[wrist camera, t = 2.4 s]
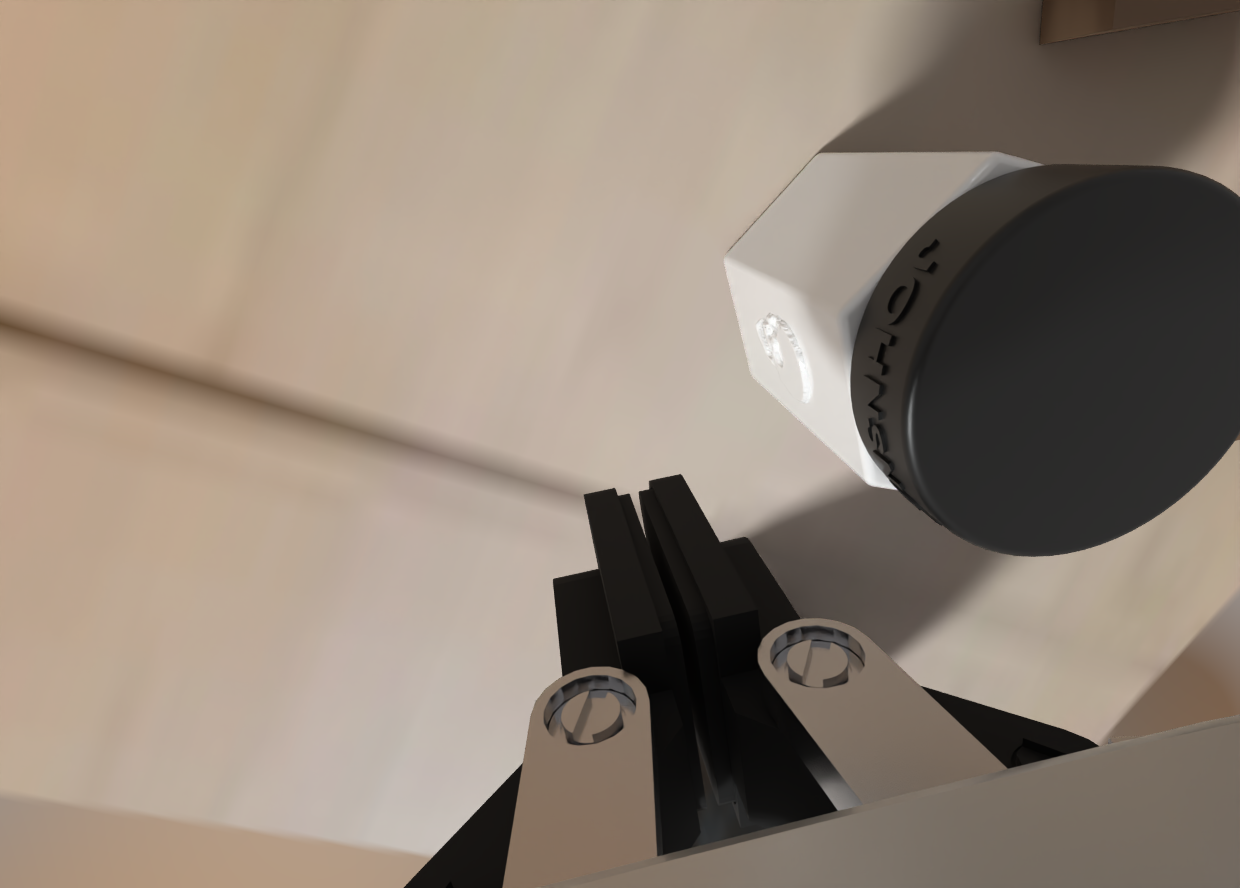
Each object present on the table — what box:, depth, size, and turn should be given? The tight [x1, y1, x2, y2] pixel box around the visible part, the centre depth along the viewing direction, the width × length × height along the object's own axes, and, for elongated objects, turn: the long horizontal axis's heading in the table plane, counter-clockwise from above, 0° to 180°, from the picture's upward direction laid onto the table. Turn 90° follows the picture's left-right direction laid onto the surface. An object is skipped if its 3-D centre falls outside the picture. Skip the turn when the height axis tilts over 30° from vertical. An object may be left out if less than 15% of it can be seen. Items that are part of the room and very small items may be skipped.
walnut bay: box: [1040, 0, 1240, 441], centre depth 24 cm, size 16×14×3 cm
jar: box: [724, 151, 1240, 557], centre depth 19 cm, size 9×8×12 cm
